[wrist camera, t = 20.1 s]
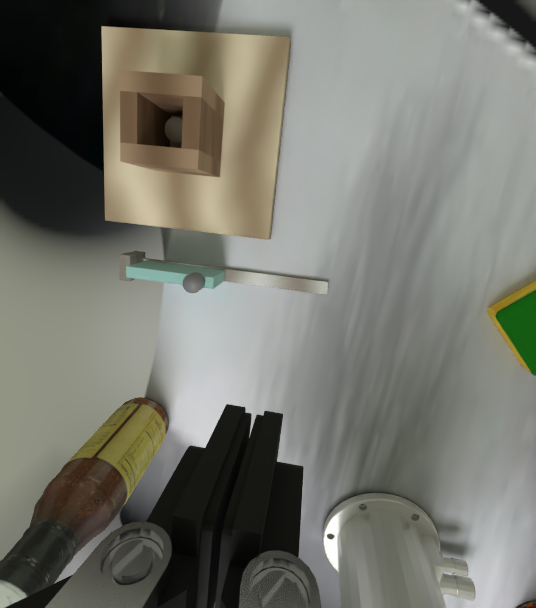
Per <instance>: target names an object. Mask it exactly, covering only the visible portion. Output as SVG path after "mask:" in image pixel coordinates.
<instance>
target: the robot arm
mask: <svg viewBox="0 0 536 608" xmlns="http://www.w3.org/2000/svg"><path fill="white" fill-rule="evenodd" d="M282 419H283V414H281V413H275V412H269V411H265V412H264V415H263V416H262V415H256V419H255V422H254V425H253V428H252V432H251V435H250V426H251V413H245V407H240V406H234V405H228V404H227V405H226V407H225V409H224V411H223V413H222V415H221V417H220V419H219V421H218V423H217V425H216V427H215V429H214V431H213V433H212V435H211V438H210V440H209V442H208V444H207V446H206V448H201V447H196V446H189V447H188V449H187V450H186V452H185V454H184V455H183V457H182V459H181V461H180V463H179V464H178V466H177V468H176V470H175V471H174V473H173V475H172V477H171V479H170V480H169V482H168V484H167V486H166V487H165V489H164V491H163V493H162V495H161V496H160V498H159V500H158V502H157V503H156V505H155V507H154V509H153V511H152V512H151V514H150V516H149V518H148V519H147V521H146V522H135V523H131V524H128V525H124V526H122V527H120V528H118V529H117V530H115V531H113V532H111V533H110V534H109V535H108V536H107V537H106V538H105V539H104V540H103V541H101V543H100V544H99V545H98V546H97V547H96V548H95V550H94V551H93V552H92V553H91V554H90V556H89V557H88V558H87V559H86V560H85V561H84V563H83V564H82V565H81V566H80V567H79V568H78V570H77V571H76V572H75V573H74V574H73V575H71V576H69V577H67V578H65V579H63V580H61V581H59V582H57V583H55V584H53V585H51V586H49V587H47V588H44V589H42V590H40V591H38V592H36V593H34V594H32V595H30V596H28V597H26V598H24V599H22V600H19V601H17V602H15V603H13V604H11V605H9V606H7V607H5V608H213V607H214V603H215V599H216V604H215V608H321V601H320V594H319V589H318V585H317V582H316V578H315V576H314V575H313V573H312V572H311V570H310V568H309V567H308V566H307V565H306V564H305V563H304V562H303V561H302V560H301V559H300V558H298V555H299V538H300V520H301V502H302V485H303V466H298V465H292V464H287V463H282V462H277V457H278V449H279V442H280V434H281V426H282ZM249 435H250V438H249ZM323 545H324V550H325V553H326V556H327V558H328V560H329V561H330V563H331V565H332V566H333V567H334V568H335V569H336V570H337V571H338V572H339V586H340V602H341V608H447V607H446V604H445V601H444V598H443V595H444V594H448V595H453V596H454V597H457V598H462V599H466V600H471V601H474V599H475V594H476V593H475V586H474V583H473V581H472V579H471V578H468V577H467V576H468V566H467V563H466V561H464V560H459V559H454V558H446V557H443V555H442V554H441V553H440V541H439V536H438V534H437V531H436V528H435V526H434V524H433V522H432V520H431V519H430V517H429V516H428V515H427V514H426V513H425V512H424V511H423V510H422V509H421V508H420V507H418V506H417V505H416V504H414V503H412V502H410V501H409V500H407V499H404V498H402V497H399V496H396V495H391V494H386V493H368V494H361V495H358V496H354V497H351V498H349V499H347V500H345V501H343V502H342V503H340V504H339V505H338V506H336V507H335V508H334V509H333V511H332V512H331V513H330V514H329V516H328V518H327V520H326V521H325V525H324V529H323ZM444 572H450V573H452V575H448V574H444ZM454 574H456V575H454ZM459 575H461V576H459ZM464 576H466V577H464Z"/></svg>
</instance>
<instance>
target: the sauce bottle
mask: <svg viewBox="0 0 536 608" xmlns="http://www.w3.org/2000/svg"><path fill="white" fill-rule="evenodd" d="M167 430H168V419H167V417H166V413H165V411H164V410H163V408H162V407H161V406H159V405H158V404H157V403H155V402H153V401H151V400H149V399H146V398H135V399H132V400H129V401H127V402H125V403H124V404H123V405H122V406H121V407H120V408H118V409H117V410H116V411H115V412H114V413H113V414H112V415H111V416H110V417H109V419H108V420H107V421H106V422H105V423H104V424H103V425H102V426H101V427H100V428H99V429H98V430H97V431H96V432H95V433H94V435H93V436H92V437H91V438H90V439H89V440H88V441H87V442H86V443H85V444H84V445H83V446H82V447H81V448H80V449H79V451H78V452H77V453H76V454H75V455H74V456H73V457H72V458H71V459H70V460H69V461H68V462H67V463H66V464H65V465H64V467H63V468H62V470H61V472H60V473H59V474H58V475H57V476H56V477H55V478H54V479H53V480H52V481H51V482H50V483H49V485H48V486H47V488H46V489H45V490H44V492H43V495H42V496H41V498H40V499H39V500H38V502H37V503H36V505H35V509H34V513H33V517H32V520H31V524H30V527H29V528H28V529H27V530H26V531H25V533H24V534H23V537H22V538H21V539H20V540H19V541H18V542H17V543H16V545H15V546H14V547H13V548H12V549H11V551H10V552H9V553H8V554H7V555H6V556H5V557H4V559H3V560H1V561H0V608H5V607H7V606H9V605H11V604H13V603H15V602H17V601H19V600H22V599H24V598H26V597H28V596H30V595H32V594H34V593H36V592H38V591H40V590H42V589H44V588H47V587H49V586H51V585H53V584H54V583H55V581H56V580H57V578H58V577H59V575H60V574H61V573H62V571H63V569H64V568H65V567H66V565H68V563H70V561H71V560H72V559H73V556H74V555H75V554H76V553H77V552H78V551H80V550H81V549H82V548H83V547H84V546H85V545H86V544H87V543H88V542H89V541H90V540H92V539H93V538H94V537H96V536H97V535H98V534H100V533H101V532H103V531H104V530H105V529H106V528H107V527H108V526H109V524H110V523H111V522H112V521H113V520H114V519H115V518H116V516H117V515H118V514H119V512H120V511H121V509H122V508H123V506H124V504H125V503H126V501H127V499H128V498H129V496H130V495H131V493H132V491H133V490H134V488H135V486H136V485H137V483H138V481H139V480H140V478H141V477H142V475H143V474H144V472H145V470H146V469H147V467H148V465H149V464H150V462H151V460H152V459H153V457H154V456H155V454H156V452H157V451H158V449H159V447H160V446H161V444H162V443H163V441H164V438H165V435H166V433H167Z"/></svg>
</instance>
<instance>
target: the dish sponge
mask: <svg viewBox="0 0 536 608" xmlns="http://www.w3.org/2000/svg"><path fill="white" fill-rule="evenodd" d="M487 313H488V315H489V316H490V318H491V319H492V321H493V322H494V324H495V325H496V327H497V328H498V330H499V331H500V333H501V335H502V336H503V338H504V339H505V341H506V342H507V344H508V345H509V347H510V348H511V350H512V351H513V353H514V354H515V356H516V357H517V359H518V361H519V362H520V364H521V365H522V366H523V367H524V368H525V369H527V370H528V371H529V372H531V373H532V374H533V375H536V280H535V281H534V282H532V283H530V284H528V285H527V286H525V287H523V288H522V289H520V290H518V291H516V292H515V293H513V294H511V295H509V296H508V297H506V298H504V299H502V300H501V301H499V302H497V303H496V304H494V305H492V306H490V307H489V308H488V311H487Z"/></svg>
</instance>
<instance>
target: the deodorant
mask: <svg viewBox="0 0 536 608" xmlns="http://www.w3.org/2000/svg"><path fill="white" fill-rule="evenodd" d="M516 608H536V601H531V602H527V603H524V604H522V605H519V606H518V607H516Z"/></svg>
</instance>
